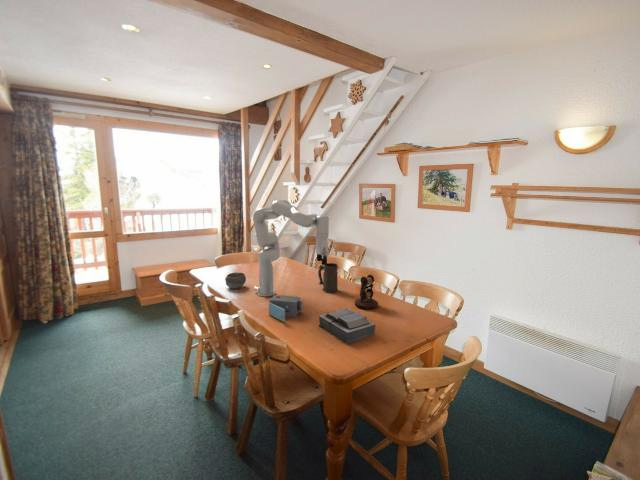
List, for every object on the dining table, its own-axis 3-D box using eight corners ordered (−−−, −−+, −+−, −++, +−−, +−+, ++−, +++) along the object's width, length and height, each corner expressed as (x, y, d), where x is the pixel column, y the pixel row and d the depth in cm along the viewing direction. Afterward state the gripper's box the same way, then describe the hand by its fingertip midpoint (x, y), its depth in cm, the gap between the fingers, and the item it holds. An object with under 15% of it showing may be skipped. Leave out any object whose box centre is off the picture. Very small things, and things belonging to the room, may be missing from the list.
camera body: (269, 314, 184) (269, 299, 182) (274, 308, 193) (274, 293, 191) (299, 317, 181) (299, 301, 179) (303, 311, 190) (303, 296, 188)
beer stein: (340, 289, 232) (339, 262, 229) (336, 293, 222) (335, 266, 219) (320, 288, 237) (319, 262, 234) (315, 292, 227) (314, 265, 224)
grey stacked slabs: (337, 347, 150) (338, 327, 148) (315, 324, 174) (316, 307, 172) (378, 338, 159) (380, 320, 157) (352, 318, 183) (353, 301, 182)
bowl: (248, 285, 237) (248, 272, 236) (241, 291, 222) (241, 278, 220) (230, 284, 239) (230, 271, 237) (222, 290, 224) (222, 277, 222)
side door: (267, 315, 182) (266, 303, 181) (270, 314, 184) (270, 302, 183) (281, 322, 173) (281, 310, 172) (285, 321, 174) (285, 309, 173)
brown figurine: (363, 300, 212) (365, 271, 208) (382, 306, 202) (384, 276, 198) (349, 305, 202) (351, 275, 198) (368, 312, 191) (370, 280, 188)
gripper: (312, 233, 200) (312, 259, 203) (320, 238, 184) (320, 266, 186) (323, 233, 202) (323, 259, 205) (332, 237, 186) (332, 265, 189)
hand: (321, 262), depth 196 cm, fingers open, 9 cm apart
